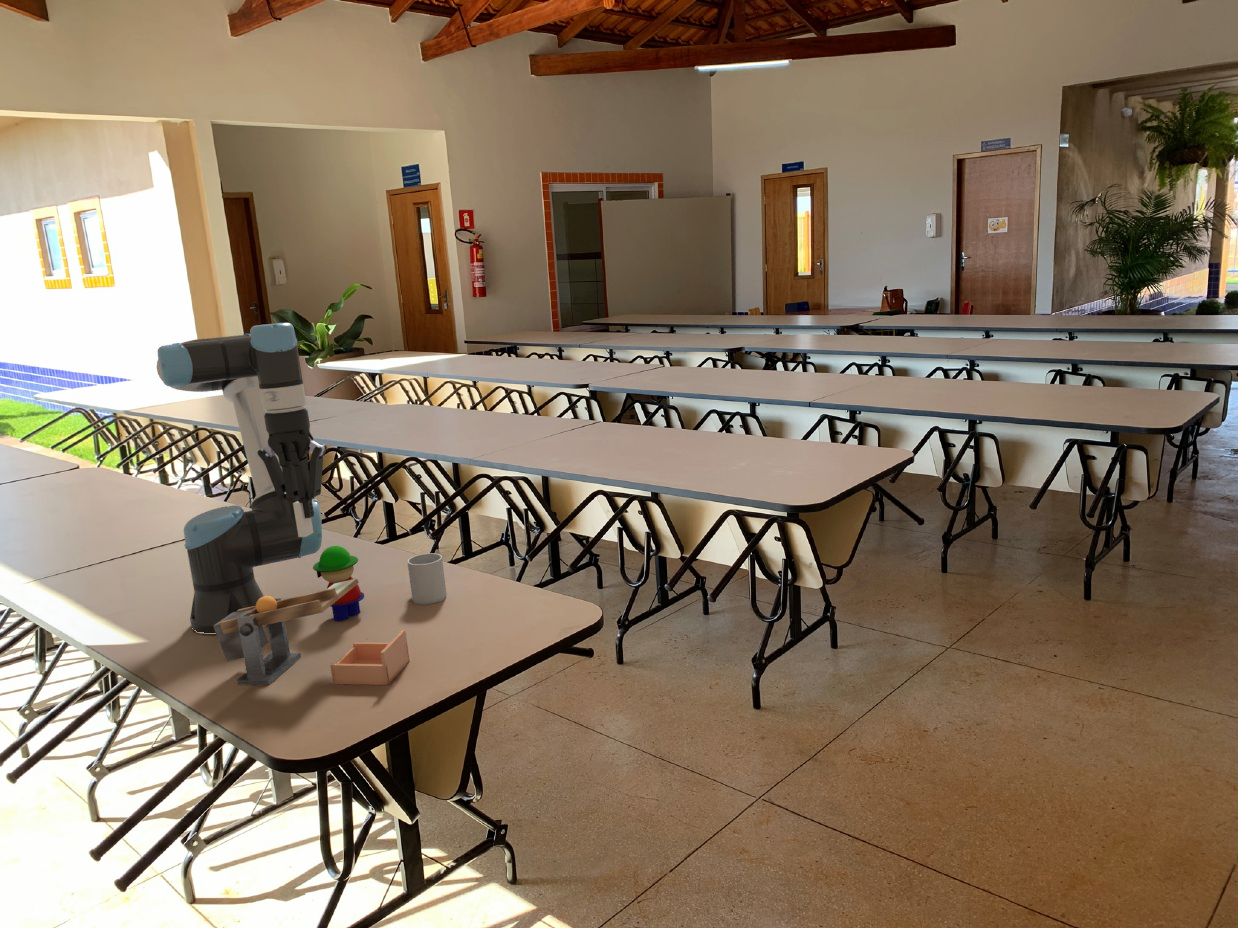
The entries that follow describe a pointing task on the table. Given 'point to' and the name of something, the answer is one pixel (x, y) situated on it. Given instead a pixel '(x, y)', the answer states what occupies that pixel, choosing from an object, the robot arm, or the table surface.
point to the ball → (266, 604)
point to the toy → (340, 580)
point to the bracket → (255, 665)
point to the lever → (277, 616)
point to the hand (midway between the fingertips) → (306, 534)
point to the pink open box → (372, 662)
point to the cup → (427, 578)
